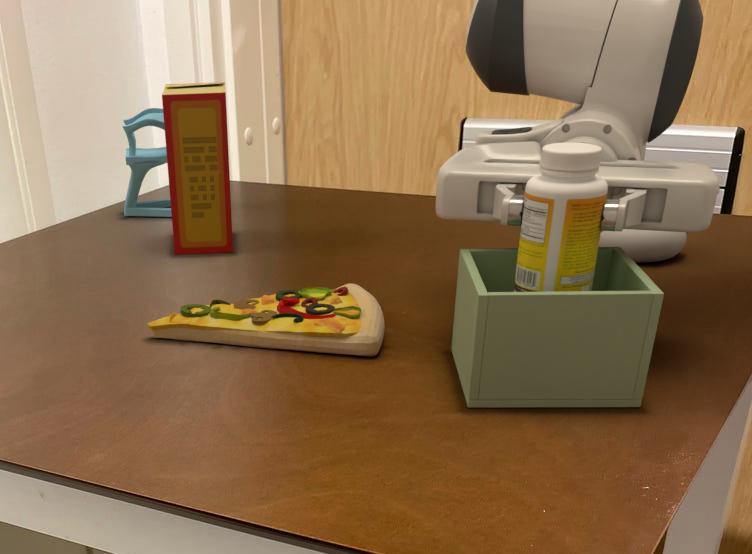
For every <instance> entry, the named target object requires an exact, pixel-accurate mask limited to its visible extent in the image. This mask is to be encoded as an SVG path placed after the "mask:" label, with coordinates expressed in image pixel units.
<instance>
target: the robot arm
mask: <svg viewBox="0 0 752 554" xmlns="http://www.w3.org/2000/svg"><path fill="white" fill-rule="evenodd" d="M703 25H704V14H703V10H702V6H701V2H700V0H474V2H473V6H472V9H471V12H470V15H469V20H468V23H467V32H466V42H465V43H466V44H465V54H466V57H467V59H468V61H469V63H470V65H471V67H472V69H473V71H474V72H475V74H476V76H477V77H478V78H479V80H480V81H481V83H482V84H483V85H484V86H485V87H486V89H487V90H489V92H491V93H498V94H508V95H516V96H526V97H527V96H530V95H533V96H538V97H541V98H542V97H543V98H548V99H552V100H557V101H561V102H567V103H570V104H571V103H572V104H576V105H574V106H573V107H571V108H570V109H568V110H567V111H566V112H565V113H564V114H562V115H561V116H560V117H559V118H557V119H554V120H550V121H548V122H545V123H542V124H538V125H534V126H524V127H522V126H521V127H515V128H502V129H500V128H499V129H494V130H485V131H482V132H479V133H478V134H477V135H476V138H475V142H474V145H470V146H466V147H464V148H462V149H460V150H458V152H455V153H454V154H453V155H451V156H450V157H449V158H448V159H447V160H446V161H445V162H444V163H443V164H442V165H441V167H440V168H439V170H438V173H437V180H436V191H435V215H436V217H438V218H439V219H441V220H445V221H466V222H482V223H483V222H484V223H499V224H500V226H509V227H510V226H512V227H521V222H522V213H523V205H524V196H525V188H526V184H527V182H528V181H529V179H531V178H532V177H533V176H536V175H539V174H541V172H540V171H539V167H540V164H539V163H540V160H541V153H542V148H543V147H544V146H545V145H548V144H553V143H565V142H568V143H587V144H593V145H597V146H599V147H601V148H602V151H601V159H600V166H599V172H598V173H597V174H595V175H598V176H600V177H602V178H603V179H605V180H606V182H607V185H608V190H607V196H606V202H605V204H604V210H603V219H602V222H601V228H600V230H601V232H603V231H620V232H622V229H633V230H652V231H671V232H686V233H699V232H703V231H706V230H708V229H709V228H710V226H711V223H712V219H713V216H714V210H715V208H716V202H717V198H718V194H719V193H720V190H721V189H720V188H721V187H720V179H719V177H718V175H717V173H716V172H715V170H713V169H712V168H711V167H709V165H705V164H702V163H697V162H690V161H689V162H687V161H666V160H665V161H664V160H645V158H646V150H647V143H650V142H653V141H654V140H656V139H657V138H658V137H659V136H661V135H662V134H663V133H664V132H666V131H667V130H668V129H669V128H671V126H672V125H673V123H674V122H675V120H676V117H677V115H678V113H679V111H680V108H681V106H682V104H683V101H684V99H685V97H686V94H687V90H688V88H689V85H690V82H691V79H692V77H693V73H694V69H695V66H696V61H697V57H698V53H699V49H700V44H701V38H702V33H703Z"/></svg>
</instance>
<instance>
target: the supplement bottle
mask: <svg viewBox="0 0 752 554" xmlns="http://www.w3.org/2000/svg"><path fill="white" fill-rule="evenodd" d="M601 151H602V148H601V147H599V146H597V145H593V144H587V143H568V142H565V143H553V144H548V145H545V146H544V147H543V148H542V153H541V160H540V163H539V164H540V167H539V171H540V172H541V174H539V175H536V176H533V177H532V178H531V179H529V181H528V182H527V184H526V188H525V196H524V205H523V213H522V222H521V226H520V233H519V240H518V241H519V242H518V248H519V249H518V257H517V266H516V275H515V283H514V292H558V291H591V290H592V283H593V277H594V271H595V265H596V259H597V253H598V247H599V240H600V234H601V230H600V228H601V222H602V219H603V210H604V204H605V202H606V196H607V190H608V185H607V182H606V180H605V179H603V178H602V177H600V176H598V175H595V174H597V173H598V172H599V166H600V159H601Z"/></svg>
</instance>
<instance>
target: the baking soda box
mask: <svg viewBox="0 0 752 554" xmlns="http://www.w3.org/2000/svg"><path fill="white" fill-rule="evenodd" d="M226 93H227V91H226V82H224V81H223V82H220V81H219V82H198V83H197V82H196V83H195V82H193V83H169V84H168V83H166V84H165V85H164V88H163V91H162V94H161V102H162V103H161V104H162V109H163V115H164V127H165V130H164V138H165V147H166V152H167V163H166V164H167V174H168V186H169V187H168V188H169V199H170V201H171V207H170V208H171V214H172V217H171V224H172V234H173V235H172V236H173V251H174V255H177V256H178V255H202V254H224V253H225V254H226V253H229V254H230V253H234V242H233V241H234V240H233V239H234V238H233V221H232V219H233V217H232V199H231V196H232V195H231V182H230V181H231V177H230V157H229V156H230V155H229V135H228V133H229V132H228V116H227V115H228V114H227V94H226Z"/></svg>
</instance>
